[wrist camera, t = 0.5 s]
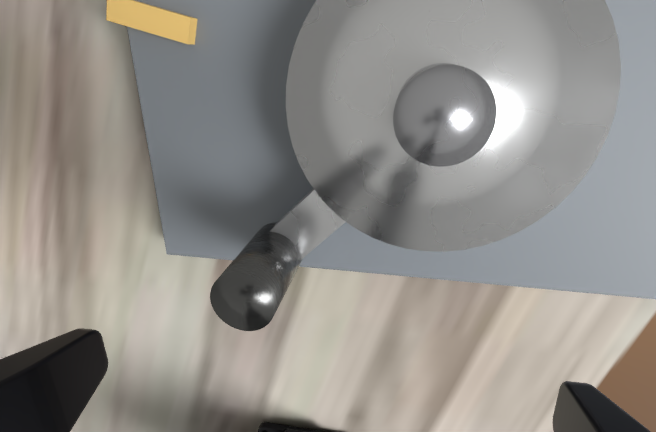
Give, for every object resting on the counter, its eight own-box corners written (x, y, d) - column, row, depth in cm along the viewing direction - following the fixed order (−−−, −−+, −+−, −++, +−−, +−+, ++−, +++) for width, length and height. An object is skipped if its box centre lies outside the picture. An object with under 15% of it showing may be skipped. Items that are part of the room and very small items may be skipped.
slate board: (688, 285, 18) (721, 312, 16) (173, 241, 23) (152, 258, 21) (867, -171, 12) (953, -212, 10) (115, -109, 16) (77, -130, 15)
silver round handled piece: (460, -151, 13) (492, -281, 8) (659, 106, 14) (794, 136, 9) (185, 171, 19) (104, 214, 14) (347, 325, 20) (327, 414, 15)
